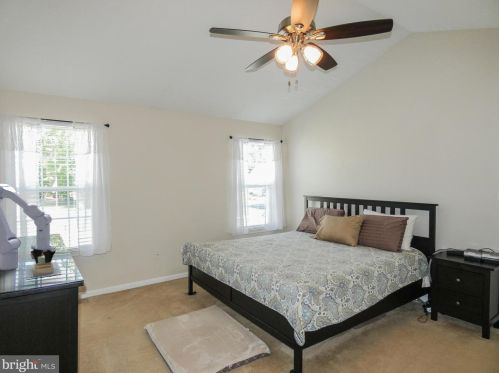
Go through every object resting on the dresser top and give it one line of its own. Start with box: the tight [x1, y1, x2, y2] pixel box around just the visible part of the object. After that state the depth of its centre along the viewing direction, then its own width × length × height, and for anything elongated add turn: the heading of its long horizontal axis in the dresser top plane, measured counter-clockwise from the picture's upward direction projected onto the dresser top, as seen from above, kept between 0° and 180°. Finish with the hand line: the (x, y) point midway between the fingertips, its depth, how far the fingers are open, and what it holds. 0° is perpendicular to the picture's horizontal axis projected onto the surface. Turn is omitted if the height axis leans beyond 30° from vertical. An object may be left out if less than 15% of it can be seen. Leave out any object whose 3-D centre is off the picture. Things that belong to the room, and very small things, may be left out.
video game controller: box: [30, 250, 46, 260], centre depth 175 cm, size 10×5×7 cm, turn 141°
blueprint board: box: [24, 261, 62, 281], centre depth 150 cm, size 24×14×4 cm, turn 37°
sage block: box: [38, 256, 45, 264], centre depth 155 cm, size 4×4×5 cm
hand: (43, 263), depth 155 cm, fingers closed on sage block, 6 cm apart
